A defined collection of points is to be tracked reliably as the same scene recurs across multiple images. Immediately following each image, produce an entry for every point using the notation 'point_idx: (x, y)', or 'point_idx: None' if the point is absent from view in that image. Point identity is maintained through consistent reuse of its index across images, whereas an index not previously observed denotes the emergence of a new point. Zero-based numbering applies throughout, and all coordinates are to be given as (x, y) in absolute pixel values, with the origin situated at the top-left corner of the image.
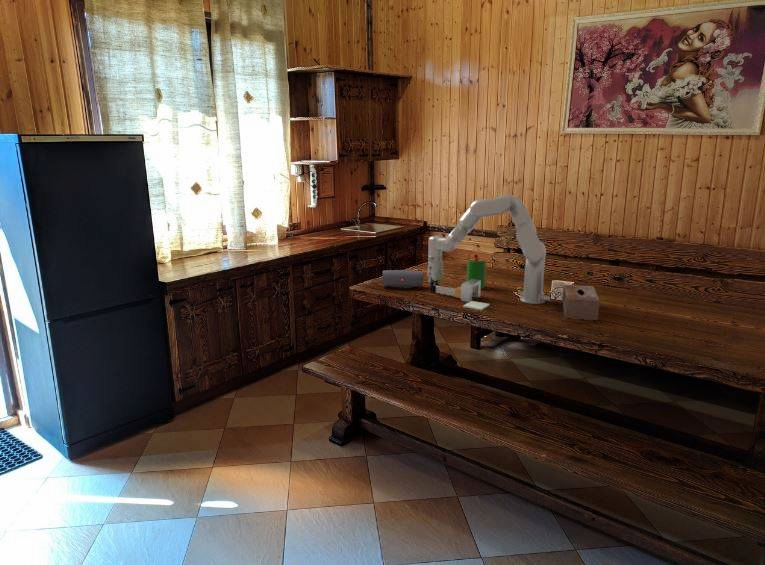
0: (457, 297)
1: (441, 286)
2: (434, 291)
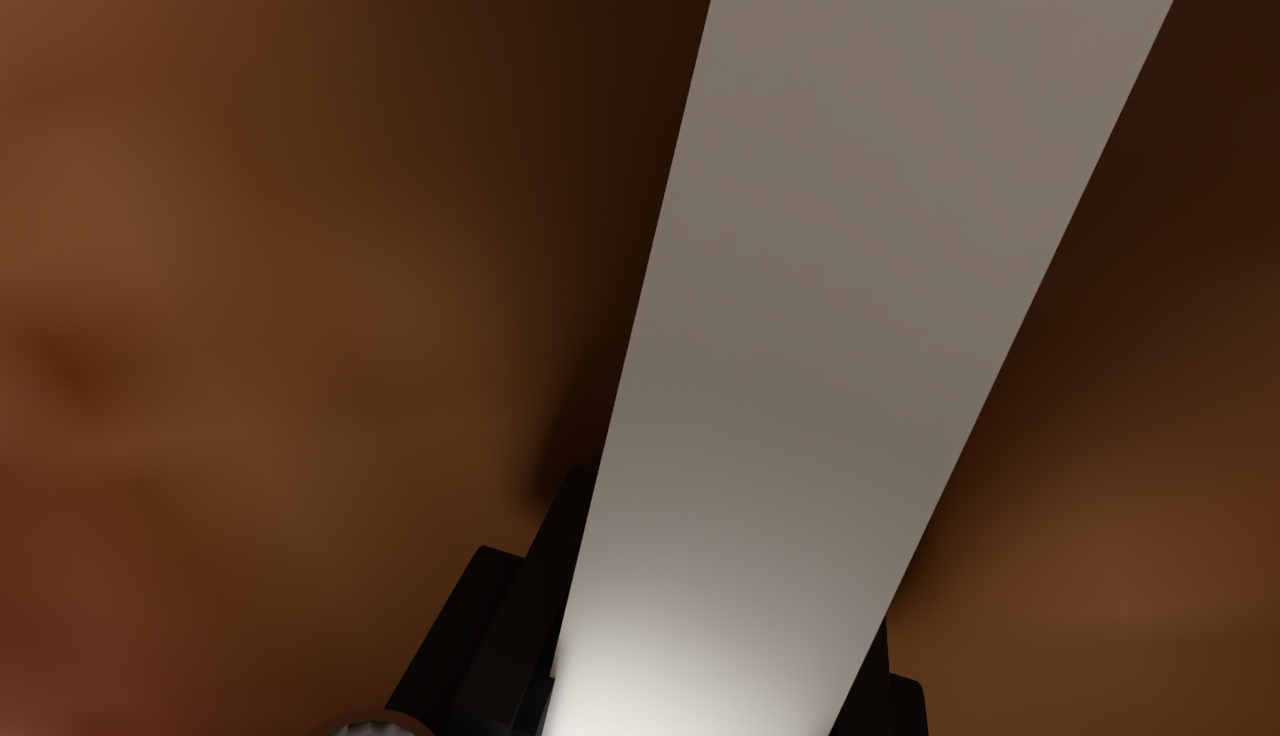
0: None
1: (628, 470)
2: None
